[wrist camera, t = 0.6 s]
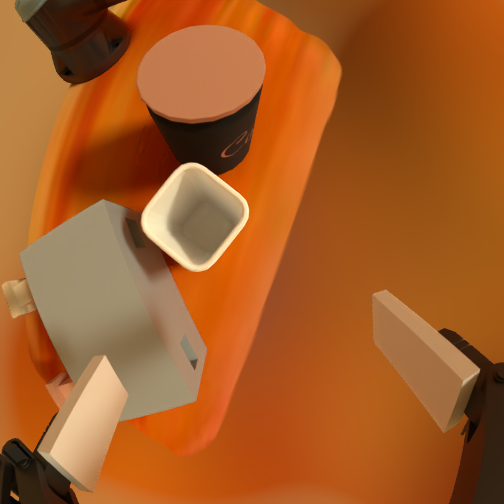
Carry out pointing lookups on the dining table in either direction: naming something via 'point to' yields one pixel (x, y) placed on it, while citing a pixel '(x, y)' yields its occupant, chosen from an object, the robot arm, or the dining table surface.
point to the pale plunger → (19, 297)
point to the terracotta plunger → (60, 388)
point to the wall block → (116, 307)
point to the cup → (194, 216)
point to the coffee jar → (204, 93)
